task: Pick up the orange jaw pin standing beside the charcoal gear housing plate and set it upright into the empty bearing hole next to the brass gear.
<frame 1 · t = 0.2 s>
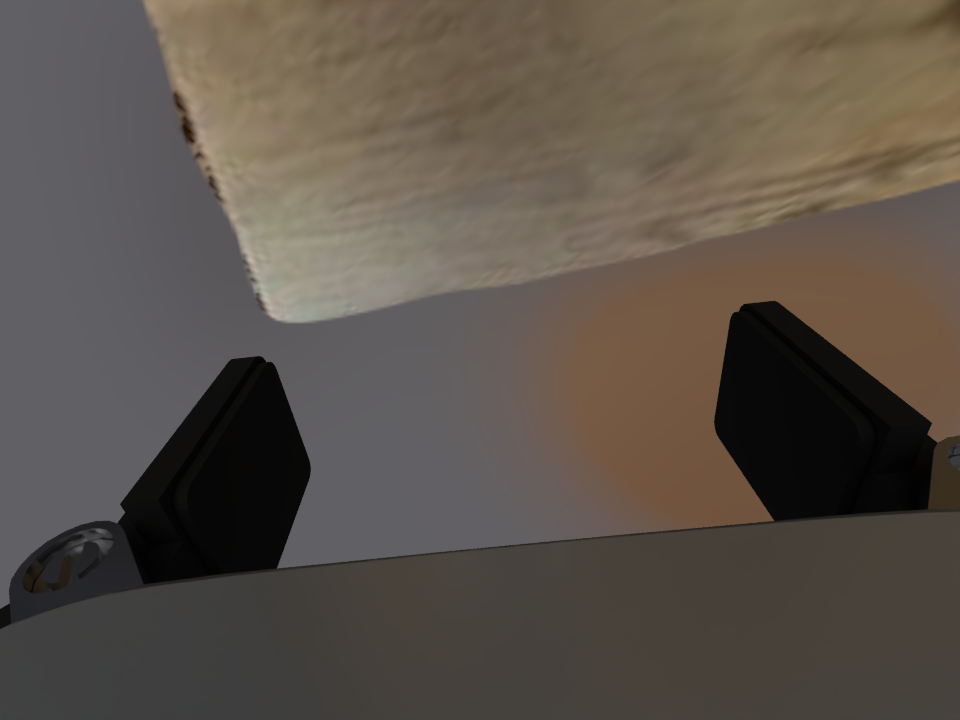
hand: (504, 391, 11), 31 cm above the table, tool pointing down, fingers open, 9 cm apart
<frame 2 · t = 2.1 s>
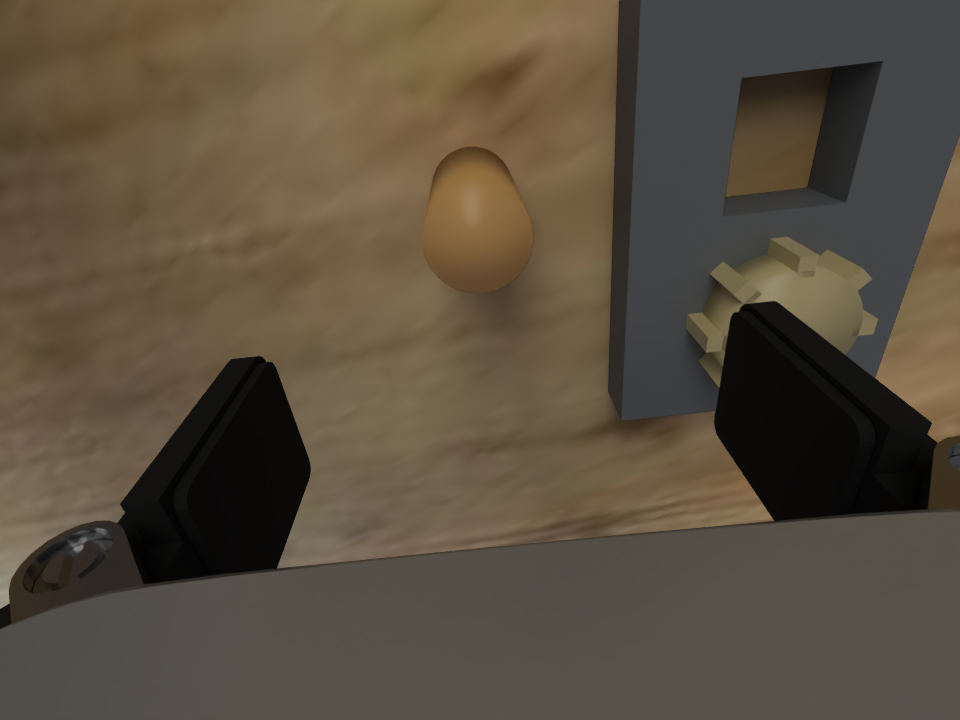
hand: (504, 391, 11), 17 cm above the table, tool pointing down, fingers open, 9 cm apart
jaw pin: (472, 190, 25), on the table
housing: (747, 217, 27), on the table
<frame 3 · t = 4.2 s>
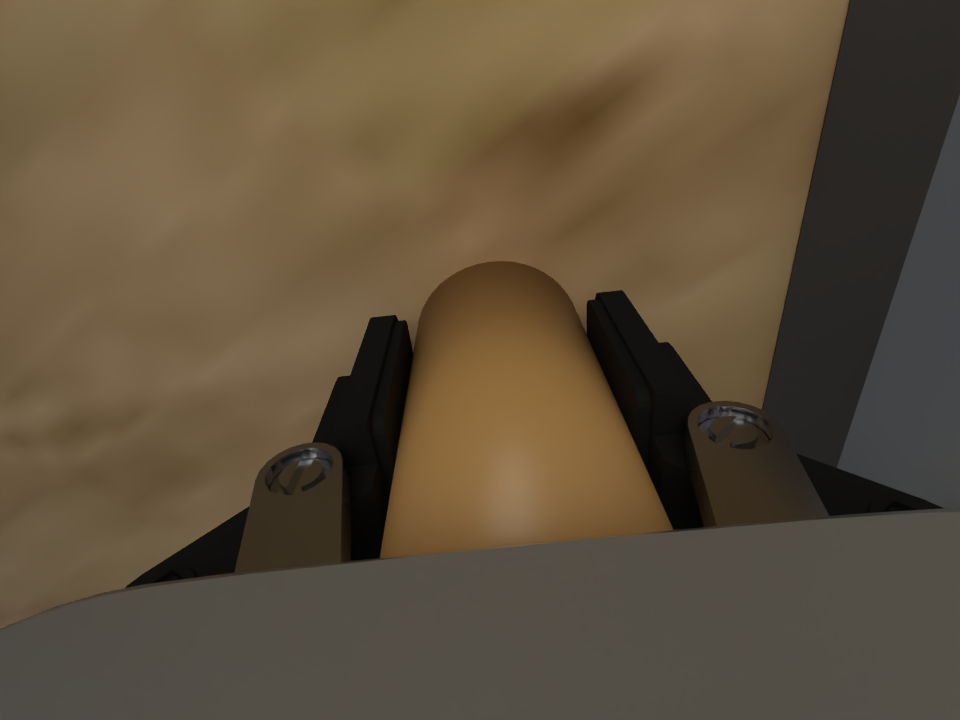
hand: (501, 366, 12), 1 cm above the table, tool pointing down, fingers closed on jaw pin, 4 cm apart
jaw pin: (498, 338, 13), on the table, touching gripper
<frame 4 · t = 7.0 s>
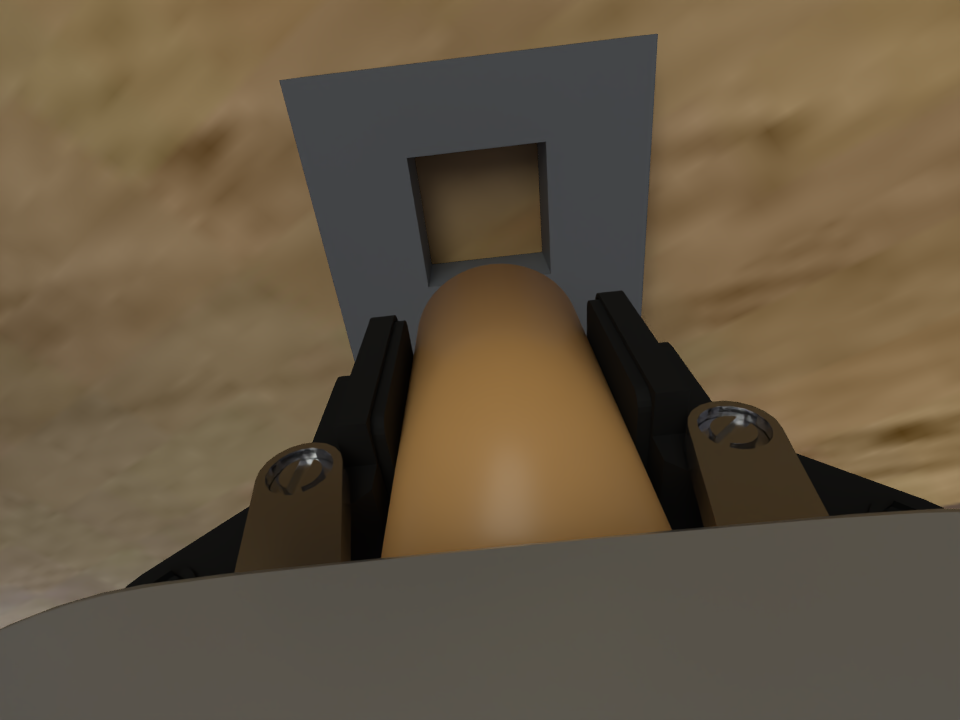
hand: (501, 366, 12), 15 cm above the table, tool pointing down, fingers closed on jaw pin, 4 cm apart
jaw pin: (498, 340, 13), point 14 cm above the table, touching gripper
housing: (489, 280, 27), on the table
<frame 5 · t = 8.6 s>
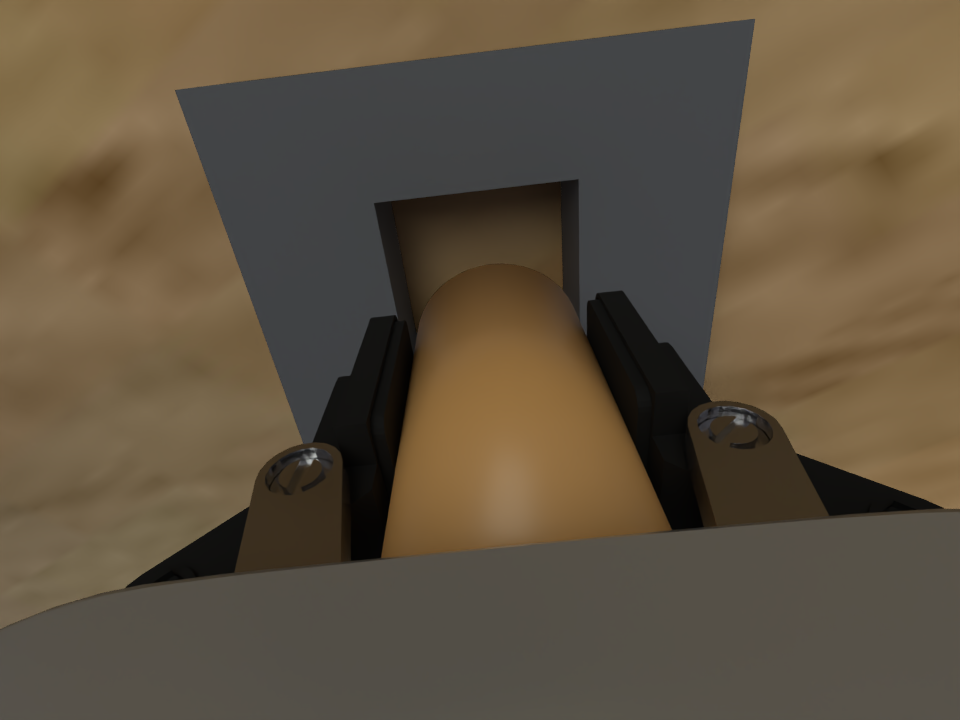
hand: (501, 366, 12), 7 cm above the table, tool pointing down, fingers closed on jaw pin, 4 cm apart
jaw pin: (498, 340, 13), point 6 cm above the table, touching gripper
housing: (492, 351, 20), on the table
when the fingers open (3 cm above the table, at t = 10.0 s): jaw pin drops 2 cm, resting in housing.
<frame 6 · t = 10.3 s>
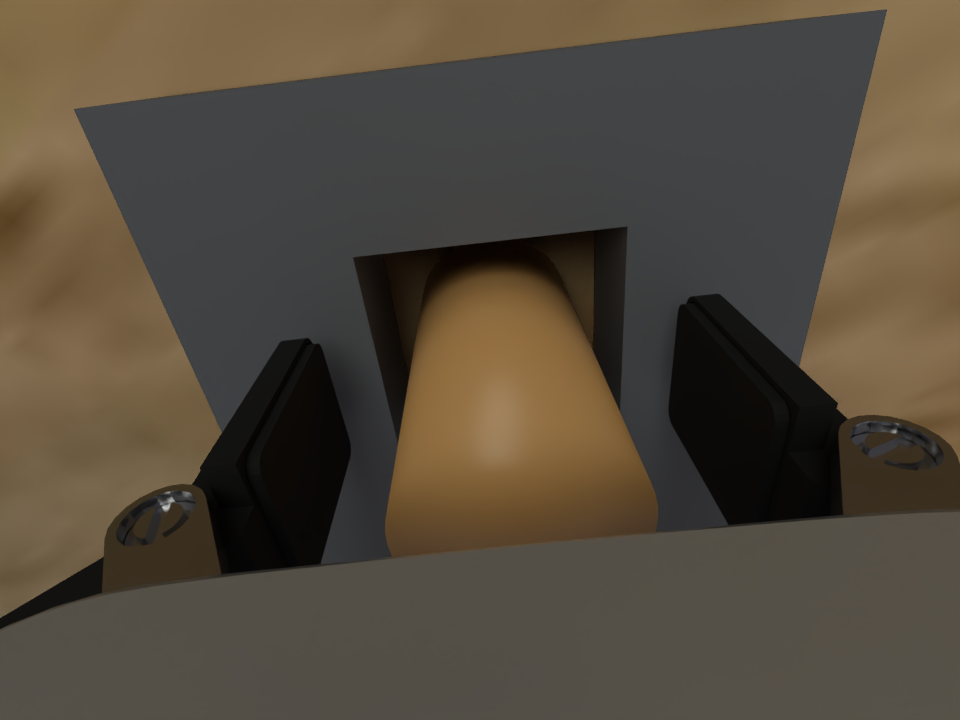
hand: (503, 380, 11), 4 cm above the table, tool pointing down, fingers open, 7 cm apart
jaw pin: (493, 305, 14), resting in housing
housing: (505, 419, 16), on the table
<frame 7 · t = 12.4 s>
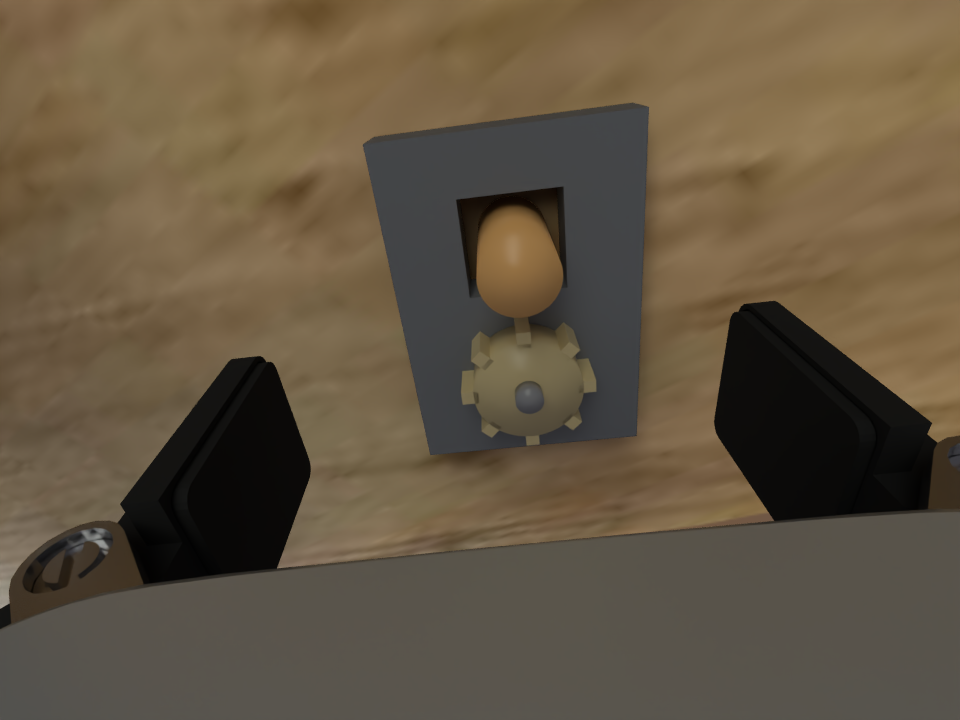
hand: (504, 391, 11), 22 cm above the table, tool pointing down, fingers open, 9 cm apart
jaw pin: (511, 230, 31), resting in housing
housing: (517, 292, 33), on the table
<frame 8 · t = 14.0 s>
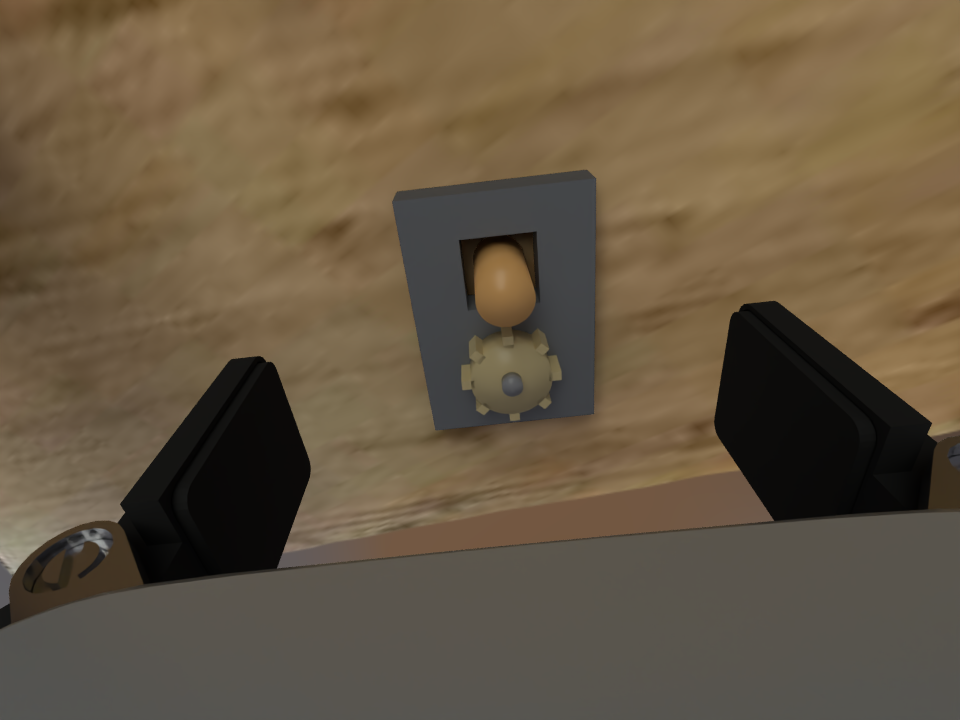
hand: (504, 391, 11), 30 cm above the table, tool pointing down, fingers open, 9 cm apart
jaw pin: (498, 258, 41), resting in housing
housing: (502, 304, 43), on the table
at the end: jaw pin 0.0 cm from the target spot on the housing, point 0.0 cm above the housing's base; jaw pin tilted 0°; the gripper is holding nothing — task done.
